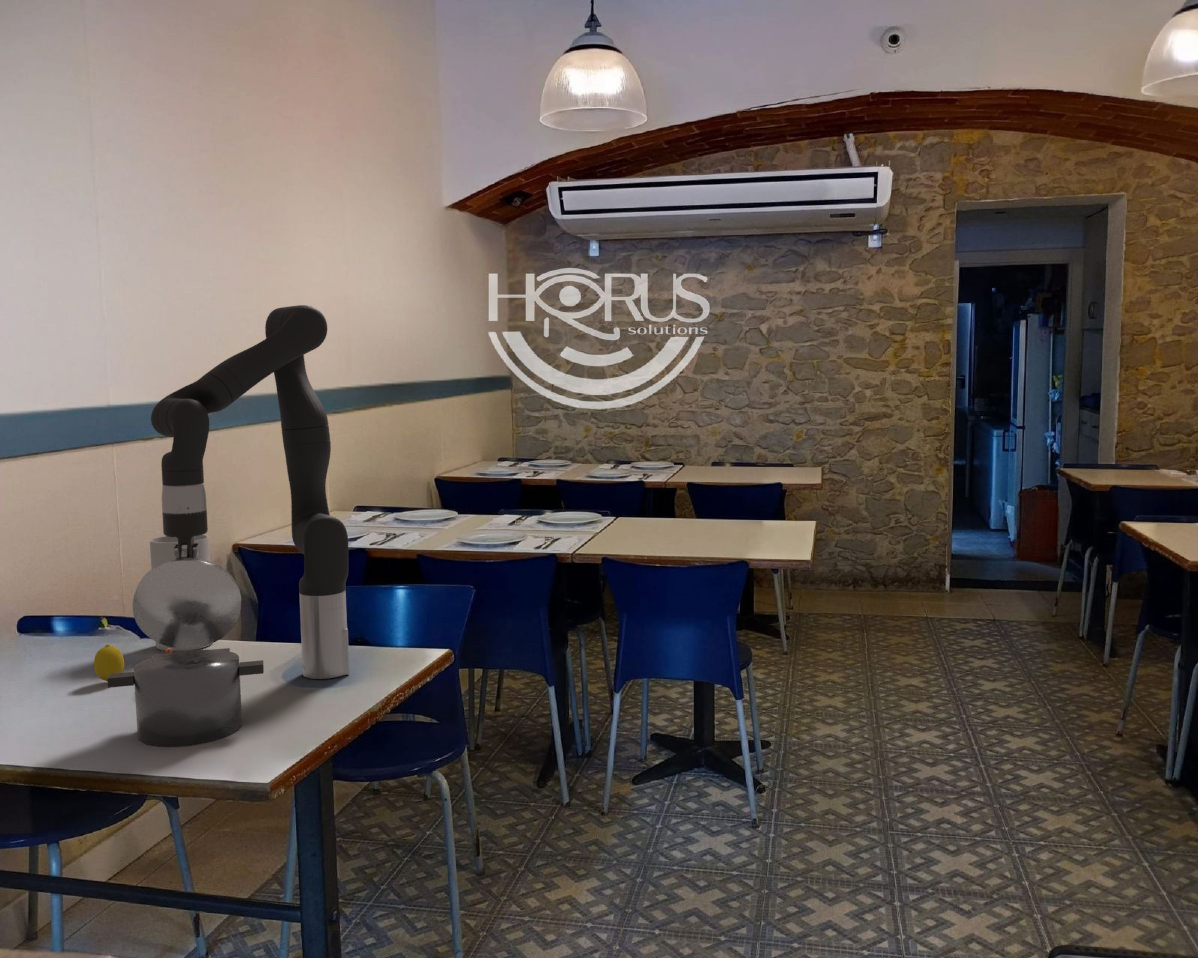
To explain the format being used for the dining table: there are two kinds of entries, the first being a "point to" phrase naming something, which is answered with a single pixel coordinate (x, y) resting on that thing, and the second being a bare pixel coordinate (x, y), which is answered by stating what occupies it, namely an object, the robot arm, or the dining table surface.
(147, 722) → the cooker pot
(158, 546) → the cylinder vase
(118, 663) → the lemon
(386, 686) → the dining table surface
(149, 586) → the cooker lid
